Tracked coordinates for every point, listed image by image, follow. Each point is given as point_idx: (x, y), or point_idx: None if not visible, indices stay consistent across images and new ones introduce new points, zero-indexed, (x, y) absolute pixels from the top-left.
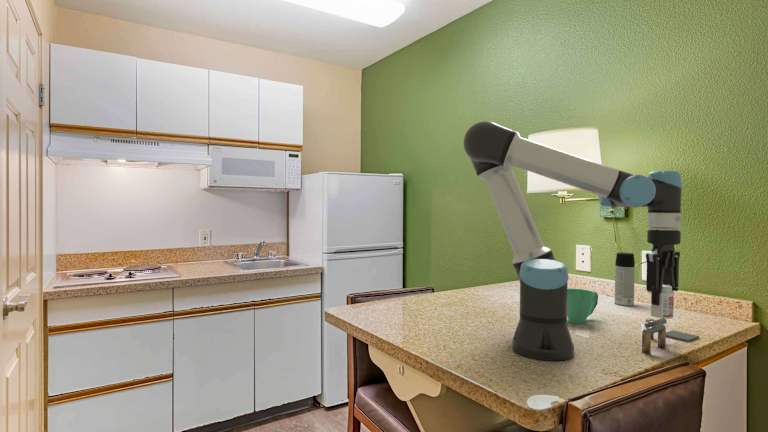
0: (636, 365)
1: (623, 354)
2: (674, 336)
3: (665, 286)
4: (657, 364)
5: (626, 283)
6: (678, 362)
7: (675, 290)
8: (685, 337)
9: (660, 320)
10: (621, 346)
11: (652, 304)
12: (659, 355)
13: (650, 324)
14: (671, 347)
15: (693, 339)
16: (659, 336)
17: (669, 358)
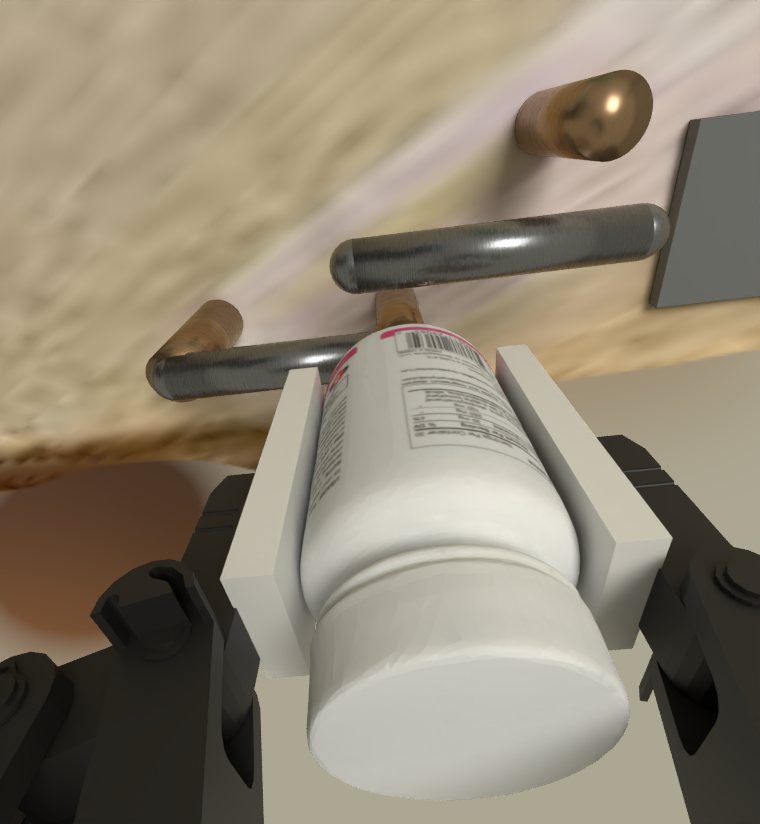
0: (23, 409)
1: (63, 282)
2: (690, 218)
3: (395, 783)
4: (138, 436)
5: None
6: (256, 455)
7: (646, 673)
8: (714, 268)
9: (556, 263)
10: (165, 163)
11: (227, 482)
12: None
13: (356, 293)
14: (454, 320)
15: (729, 296)
16: (377, 324)
17: (266, 414)
